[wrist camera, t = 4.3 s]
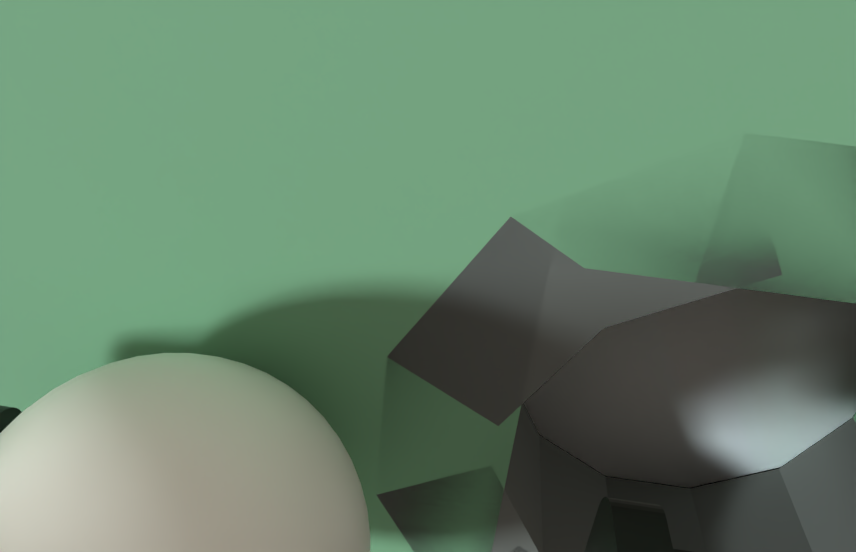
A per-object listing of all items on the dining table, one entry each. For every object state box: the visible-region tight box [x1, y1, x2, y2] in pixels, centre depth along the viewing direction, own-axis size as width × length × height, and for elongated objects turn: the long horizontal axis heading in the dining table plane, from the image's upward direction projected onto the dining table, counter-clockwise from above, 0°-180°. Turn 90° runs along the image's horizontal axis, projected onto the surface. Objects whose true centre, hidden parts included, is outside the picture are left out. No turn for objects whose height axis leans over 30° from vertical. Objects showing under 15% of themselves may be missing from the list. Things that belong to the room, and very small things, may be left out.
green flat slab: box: [0, 0, 856, 552], centre depth 13 cm, size 15×25×3 cm, turn 85°
